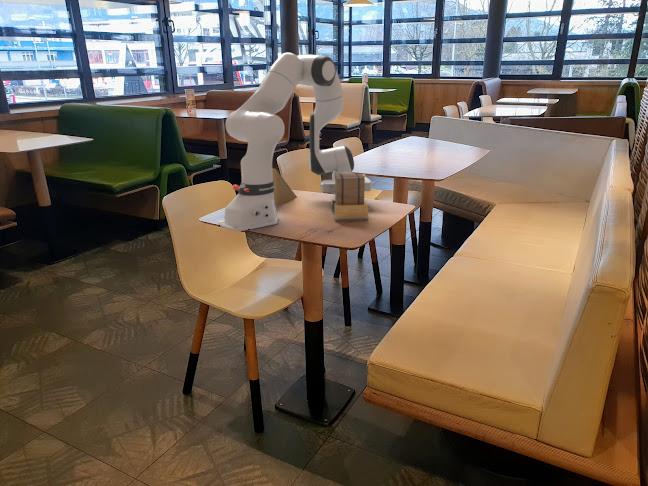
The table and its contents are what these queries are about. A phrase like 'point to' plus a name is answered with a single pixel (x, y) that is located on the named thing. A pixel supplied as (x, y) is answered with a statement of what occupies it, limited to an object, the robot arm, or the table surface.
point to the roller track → (349, 211)
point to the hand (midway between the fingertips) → (347, 190)
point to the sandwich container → (281, 189)
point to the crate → (349, 188)
